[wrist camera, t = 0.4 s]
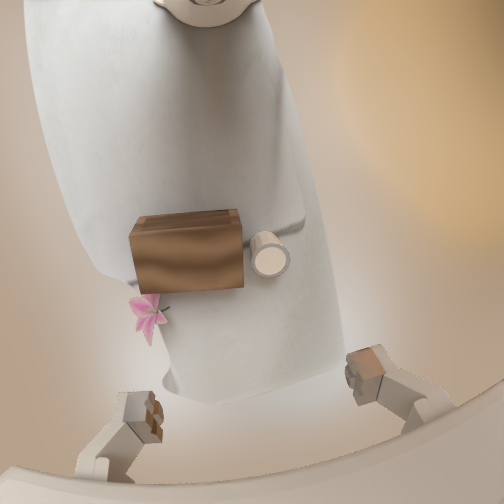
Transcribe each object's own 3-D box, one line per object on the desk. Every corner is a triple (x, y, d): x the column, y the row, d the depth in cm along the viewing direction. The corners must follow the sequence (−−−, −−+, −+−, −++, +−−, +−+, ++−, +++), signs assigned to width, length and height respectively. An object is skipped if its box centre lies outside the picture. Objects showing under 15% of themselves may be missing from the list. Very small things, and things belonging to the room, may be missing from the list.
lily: (174, 268, 60) (145, 282, 52) (198, 320, 61) (173, 341, 52) (135, 283, 65) (107, 297, 56) (157, 331, 66) (131, 349, 57)
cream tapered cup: (263, 266, 62) (270, 285, 56) (239, 246, 59) (242, 263, 53) (288, 242, 60) (297, 259, 54) (264, 220, 57) (271, 235, 51)
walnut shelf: (139, 216, 54) (128, 236, 46) (236, 209, 56) (241, 227, 48) (148, 269, 59) (141, 294, 51) (238, 262, 61) (243, 287, 53)
